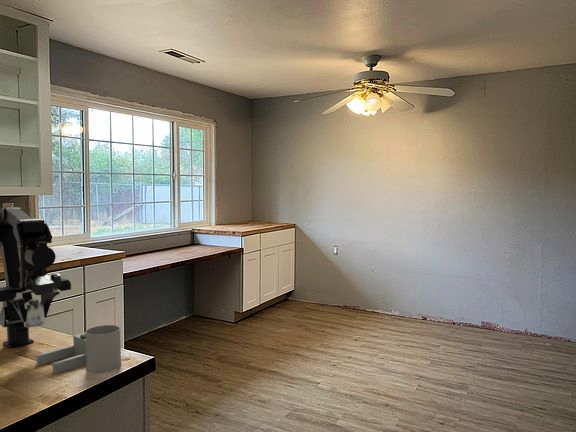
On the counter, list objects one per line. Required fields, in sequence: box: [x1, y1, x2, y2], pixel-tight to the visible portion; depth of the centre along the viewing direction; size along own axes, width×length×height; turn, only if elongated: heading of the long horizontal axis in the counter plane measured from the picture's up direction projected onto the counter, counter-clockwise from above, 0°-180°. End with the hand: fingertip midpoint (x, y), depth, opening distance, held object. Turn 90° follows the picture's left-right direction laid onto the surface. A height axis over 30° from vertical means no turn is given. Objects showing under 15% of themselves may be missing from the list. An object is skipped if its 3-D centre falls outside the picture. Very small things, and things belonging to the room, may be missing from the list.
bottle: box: [24, 298, 46, 328], centre depth 125 cm, size 5×5×7 cm
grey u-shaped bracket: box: [35, 332, 87, 375], centre depth 123 cm, size 10×14×6 cm
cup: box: [84, 324, 122, 374], centre depth 119 cm, size 8×8×10 cm
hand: (34, 320), depth 125 cm, fingers closed on bottle, 5 cm apart
